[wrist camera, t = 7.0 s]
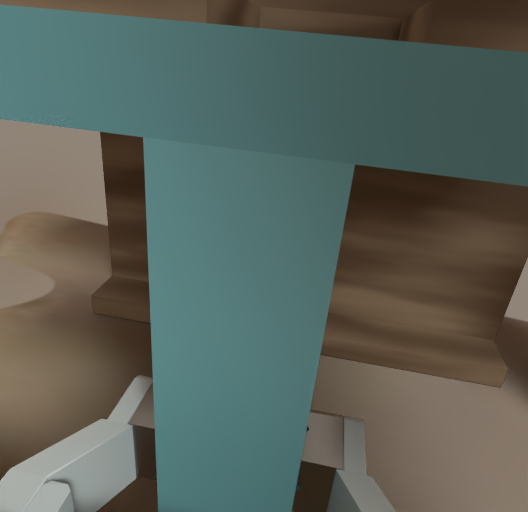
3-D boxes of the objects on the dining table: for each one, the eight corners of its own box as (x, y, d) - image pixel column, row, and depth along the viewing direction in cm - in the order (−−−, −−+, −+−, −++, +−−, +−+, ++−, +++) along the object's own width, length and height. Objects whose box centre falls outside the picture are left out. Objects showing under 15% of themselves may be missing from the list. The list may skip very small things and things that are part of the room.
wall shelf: (554, 506, 20) (971, -177, 9) (16, 391, 24) (-123, -201, 13) (481, 344, 31) (635, -53, 21) (123, 282, 35) (95, -85, 24)
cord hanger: (488, 852, 11) (1363, 120, 3) (-55, 681, 13) (-456, -43, 5) (443, 593, 16) (704, 77, 8) (62, 499, 18) (-35, 7, 10)
